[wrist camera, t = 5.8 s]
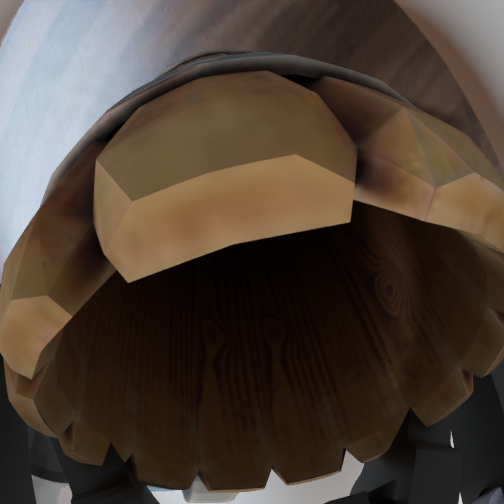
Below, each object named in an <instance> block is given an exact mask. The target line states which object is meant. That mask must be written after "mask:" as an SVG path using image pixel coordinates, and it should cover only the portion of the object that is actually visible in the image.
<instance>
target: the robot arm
mask: <svg viewBox="0 0 504 504" xmlns="http://www.w3.org/2000/svg"><path fill="white" fill-rule="evenodd" d="M0 288H1V284H0ZM451 432H452V437H453V443H454V448H452V446H451V442H450V439H451ZM66 486H70V488H71V491H72V495H73V496H72V499H71V504H160V503H159V502H158V501H157V500H156V498H155V497H154V496H153V495H152V493H151V492H150V491H173V490H169V489H163V488H157V487H151V486H146V485H142V484H141V483H140V482H139V481H138V480H137V479H136V478H135V476H134V474H133V473H132V471H131V469H130V468H129V466H128V464H127V463H126V462H124V461H123V459H122V458H121V457H120V455H119V454H118V452H117V451H116V449H115V448H114V446H113V444H112V443H110V446H109V448H108V451H107V454H106V457H105V459H104V462H103V464H102V466H97V465H91V464H85V463H80V462H78V461H76V460H74V459H72V458H70V457H69V456H67V455H65V453H64V451H63V449H62V447H61V444H60V442H59V440H58V438H54V437H50V436H46V435H44V434H42V433H40V432H39V431H37V430H35V429H34V428H32V427H31V426H29V425H27V424H26V422H25V421H24V420H23V419H22V418H21V417H20V415H19V414H18V413H17V412H16V410H15V408H14V407H13V405H12V404H11V402H10V401H9V399H8V393H7V386H6V378H5V369H4V358H3V356H2V355H1V353H0V504H57V502H58V498H59V494H60V489H61V488H62V487H66ZM459 493H460V494H461V498H462V502H463V504H504V359H503V360H502V361H501V362H500V364H499V365H498V366H496V367H495V368H494V369H493V370H492V371H491V372H490V373H489V374H488V375H486V376H484V377H483V378H480V377H478V376H476V375H474V374H473V392H472V394H471V395H470V397H469V398H468V399H467V400H466V401H465V402H464V403H462V404H461V405H460V406H459V407H458V408H457V409H455V410H454V411H453V412H452V413H450V414H449V415H448V416H447V417H445V418H444V419H442V420H440V421H439V422H437V423H436V424H433V425H431V426H428V427H426V426H425V425H424V424H423V423H422V421H421V420H420V419H419V418H418V417H417V415H416V414H415V413H414V411H413V410H412V408H411V406H410V408H409V410H408V412H407V414H406V416H405V418H404V420H403V422H402V424H401V426H400V428H399V430H398V432H397V434H396V436H395V438H394V440H393V442H392V444H391V446H390V448H389V449H388V450H387V451H386V452H385V453H383V454H382V455H381V456H379V457H378V458H376V459H373V460H371V461H368V462H365V463H364V468H363V470H362V472H361V475H360V476H359V477H358V479H357V480H356V482H355V484H354V486H353V488H352V490H351V493H350V496H347V497H343V498H339V499H336V500H332V501H329V502H327V503H324V504H458V501H459Z"/></svg>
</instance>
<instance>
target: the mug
mask: <svg viewBox="0 0 504 504" xmlns="http://www.w3.org/2000/svg"><path fill="white" fill-rule="evenodd" d="M0 353H1V355H2V356H3V358H4V369H5V378H6V386H7V393H8V399H9V401H10V402H11V404H12V405H13V407H14V408H15V410H16V412H17V413H18V414H19V415H20V417H21V418H22V419H23V420H24V421H25V422H26V424H27V425H29V426H31V427H32V428H34V429H35V430H37V431H39V432H40V433H42V434H44V435H46V436H50V437H54V438H58V440H59V442H60V444H61V447H62V449H63V451H64V453H65V455H67V456H69V457H70V458H72V459H74V460H76V461H78V462H80V463H85V464H91V465H97V466H102V464H103V462H104V459H105V457H106V454H107V451H108V448H109V446H110V443H112V444H113V446H114V448H115V449H116V451H117V452H118V454H119V455H120V457H121V458H122V459H123V461H124V462H126V463H127V464H128V466H129V468H130V469H131V471H132V473H133V474H134V476H135V478H136V479H137V480H138V481H139V482H140V483H141V484H142V485H146V486H151V487H157V488H163V489H169V490H182V493H183V496H184V499H185V500H186V502H189V503H190V502H191V503H217V502H218V503H221V502H230V501H232V500H234V499H235V497H236V496H237V494H238V493H239V492H249V491H255V490H261V489H264V488H265V486H266V483H267V481H268V478H269V475H270V472H271V469H272V470H273V471H274V472H275V473H276V474H277V475H278V476H279V477H280V478H281V480H282V481H283V482H285V484H286V485H295V484H301V483H305V482H309V481H313V480H317V479H321V478H324V477H328V476H331V475H333V474H336V473H338V472H340V471H341V468H342V465H343V460H344V456H345V452H346V450H347V451H348V452H349V453H350V454H352V455H353V456H354V457H355V458H356V459H357V460H358V461H360V462H361V463H365V462H368V461H371V460H373V459H376V458H378V457H379V456H381V455H382V454H383V453H385V452H386V451H387V450H388V449H389V448H390V446H391V444H392V442H393V440H394V438H395V436H396V434H397V432H398V430H399V428H400V426H401V424H402V422H403V420H404V418H405V416H406V414H407V412H408V410H409V408H410V406H411V408H412V410H413V411H414V413H415V414H416V415H417V417H418V418H419V419H420V420H421V421H422V423H423V424H424V425H425V426H426V427H428V426H431V425H433V424H436V423H437V422H439V421H440V420H442V419H444V418H445V417H447V416H448V415H449V414H450V413H452V412H453V411H454V410H455V409H457V408H458V407H459V406H460V405H461V404H462V403H464V402H465V401H466V400H467V399H468V398H469V397H470V395H471V394H472V392H473V374H474V375H476V376H478V377H480V378H483V377H484V376H486V375H488V374H489V373H490V372H491V371H492V370H493V369H494V368H495V367H496V366H498V365H499V364H500V362H501V361H502V360H503V359H504V180H503V179H502V177H501V176H500V174H499V173H498V171H497V170H496V169H495V168H494V166H493V165H492V164H491V162H490V161H489V160H488V159H487V158H486V156H485V155H484V154H483V153H482V152H481V150H480V149H479V148H478V147H477V146H476V145H475V143H474V142H473V141H472V140H471V139H470V138H469V137H468V136H467V134H465V133H463V132H462V131H460V130H458V129H456V128H454V127H453V126H451V125H449V124H447V123H445V122H443V121H441V120H439V119H438V118H436V117H434V116H432V115H430V114H428V113H426V112H424V111H421V110H419V109H417V108H416V107H415V106H414V105H413V104H411V103H410V102H409V101H408V100H406V99H405V98H404V97H403V96H401V95H400V94H399V93H397V92H396V91H395V90H393V89H392V88H391V87H389V86H388V85H387V84H385V83H384V82H383V81H381V80H379V79H376V78H373V77H371V76H368V75H365V74H362V73H359V72H356V71H352V70H349V69H346V68H343V67H339V66H336V65H332V64H329V63H325V62H321V61H317V60H313V59H309V58H305V57H301V56H296V55H290V54H283V53H275V52H252V51H245V50H238V49H223V50H215V51H208V52H202V53H198V54H196V55H193V56H191V57H189V58H187V59H184V60H182V61H180V62H178V63H175V64H173V65H171V66H170V67H169V68H167V69H166V70H165V71H164V72H162V73H161V74H160V75H159V76H158V77H156V78H155V79H154V80H153V81H151V82H149V83H147V84H145V85H143V86H141V87H139V88H138V89H136V90H134V91H132V92H131V93H130V94H128V95H127V96H126V97H124V98H123V99H122V100H120V101H119V102H118V103H116V104H115V105H114V106H112V107H111V108H110V109H109V110H107V111H106V112H105V113H104V114H103V115H102V117H101V118H100V119H99V120H98V121H97V122H96V123H95V124H94V125H93V126H92V127H91V128H90V129H89V130H88V132H87V133H86V134H85V135H84V136H83V137H82V138H81V139H80V141H79V142H78V143H77V144H76V145H75V146H74V148H73V149H72V150H71V151H70V152H69V154H68V155H67V156H66V157H65V158H64V160H63V161H62V162H61V163H60V165H59V166H58V167H57V168H56V170H55V171H54V172H53V174H52V176H51V178H50V181H49V184H48V186H47V189H46V191H45V194H44V197H43V200H42V202H41V205H40V208H39V210H38V211H37V213H36V214H35V216H34V217H33V218H32V220H31V221H30V223H29V224H28V226H27V227H26V229H25V230H24V232H23V233H22V235H21V237H20V238H19V240H18V241H17V243H16V244H15V246H14V248H13V249H12V251H11V253H10V254H9V256H8V258H7V259H6V261H5V263H4V267H3V274H2V281H1V288H0Z"/></svg>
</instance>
